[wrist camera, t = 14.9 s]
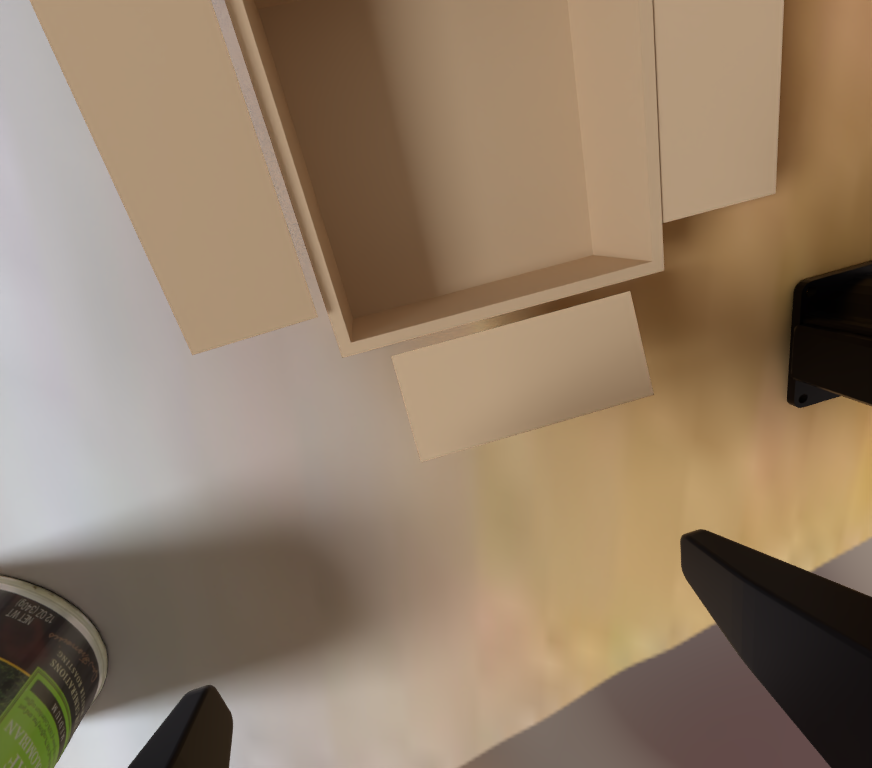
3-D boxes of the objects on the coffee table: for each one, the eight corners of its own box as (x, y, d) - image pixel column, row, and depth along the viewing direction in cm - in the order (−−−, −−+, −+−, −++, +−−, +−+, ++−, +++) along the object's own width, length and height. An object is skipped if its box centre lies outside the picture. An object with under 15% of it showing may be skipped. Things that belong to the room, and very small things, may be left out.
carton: (674, -261, 14) (808, -472, 10) (686, 238, 19) (775, 239, 15) (189, -171, 13) (105, -364, 9) (346, 328, 18) (342, 358, 14)
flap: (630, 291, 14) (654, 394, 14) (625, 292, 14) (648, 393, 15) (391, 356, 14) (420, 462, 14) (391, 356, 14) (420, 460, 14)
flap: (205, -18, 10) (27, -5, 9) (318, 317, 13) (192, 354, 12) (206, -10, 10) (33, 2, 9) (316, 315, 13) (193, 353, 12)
